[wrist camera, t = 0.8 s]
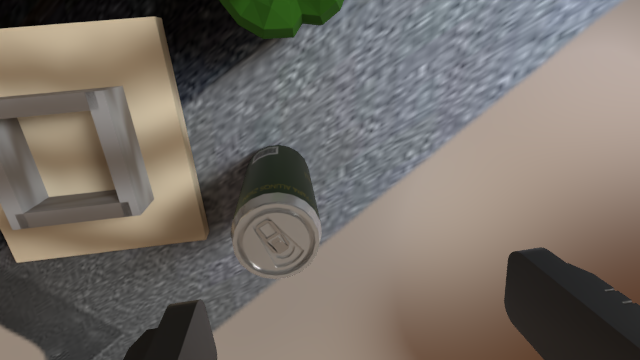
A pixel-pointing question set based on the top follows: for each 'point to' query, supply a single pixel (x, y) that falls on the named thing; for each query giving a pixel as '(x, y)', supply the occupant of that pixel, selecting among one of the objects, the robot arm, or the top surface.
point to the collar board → (93, 141)
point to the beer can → (276, 215)
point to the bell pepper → (280, 15)
